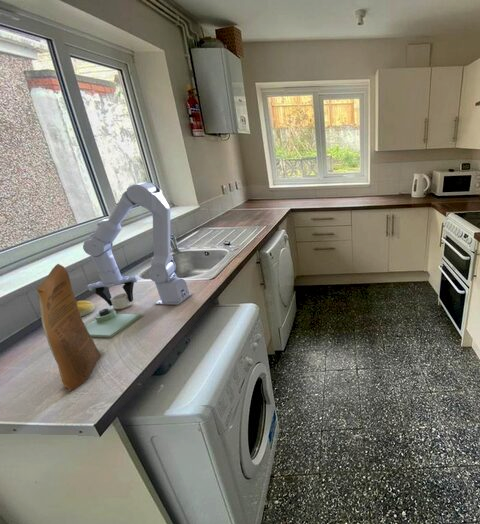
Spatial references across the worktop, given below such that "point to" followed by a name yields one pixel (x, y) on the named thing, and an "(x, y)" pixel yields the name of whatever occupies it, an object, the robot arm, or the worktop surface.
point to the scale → (110, 324)
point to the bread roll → (85, 307)
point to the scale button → (104, 312)
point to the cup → (120, 301)
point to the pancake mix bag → (66, 329)
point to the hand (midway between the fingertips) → (121, 302)
